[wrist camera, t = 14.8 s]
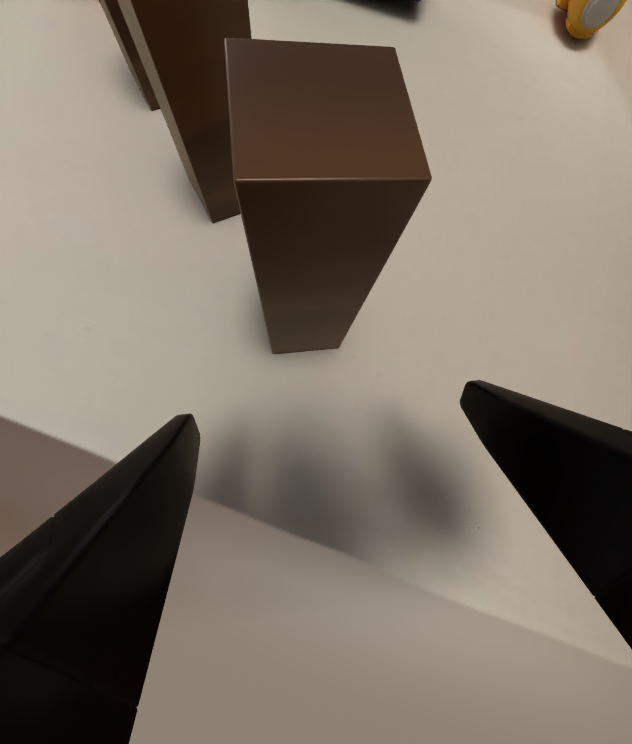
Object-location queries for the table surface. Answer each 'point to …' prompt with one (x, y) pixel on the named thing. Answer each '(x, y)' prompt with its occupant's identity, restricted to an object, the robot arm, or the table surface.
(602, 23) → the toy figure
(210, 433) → the table surface
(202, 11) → the walnut block
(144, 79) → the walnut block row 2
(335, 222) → the walnut block loose
